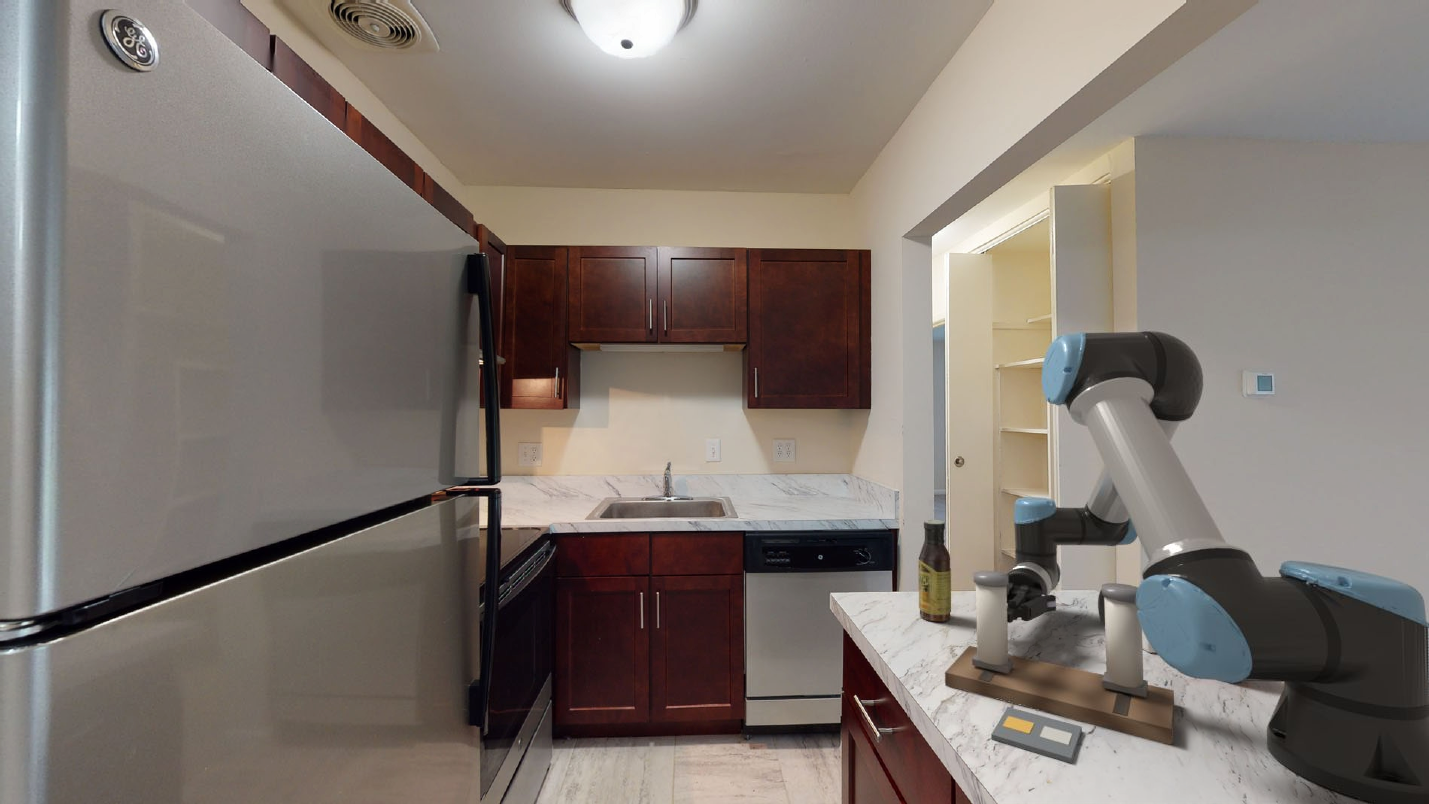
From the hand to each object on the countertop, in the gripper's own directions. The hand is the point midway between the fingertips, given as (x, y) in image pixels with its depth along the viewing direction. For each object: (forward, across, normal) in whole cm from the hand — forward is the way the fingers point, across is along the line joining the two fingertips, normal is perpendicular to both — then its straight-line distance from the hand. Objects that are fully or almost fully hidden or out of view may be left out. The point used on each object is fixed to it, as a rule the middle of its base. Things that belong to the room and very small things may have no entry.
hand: (993, 622), depth 97 cm
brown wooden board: (+2, -9, -8) cm, 12 cm away
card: (+16, -9, -8) cm, 20 cm away
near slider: (-1, -17, -6) cm, 18 cm away
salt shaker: (-27, -19, -9) cm, 34 cm away
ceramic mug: (-36, -14, -9) cm, 40 cm away
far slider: (+3, 0, -6) cm, 7 cm away
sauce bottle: (-21, +16, -9) cm, 28 cm away
